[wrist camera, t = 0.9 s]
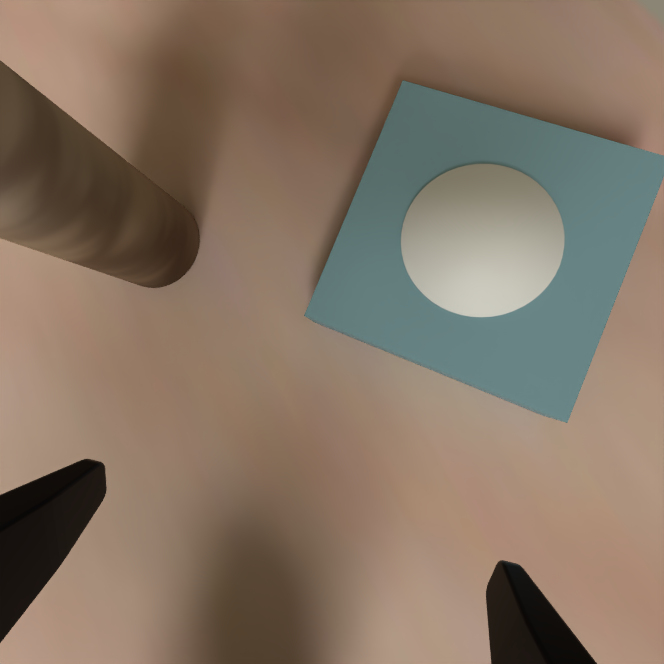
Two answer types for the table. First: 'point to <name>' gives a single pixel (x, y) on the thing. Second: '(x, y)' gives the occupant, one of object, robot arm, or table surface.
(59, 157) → the walnut post
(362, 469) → the table surface
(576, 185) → the plinth
